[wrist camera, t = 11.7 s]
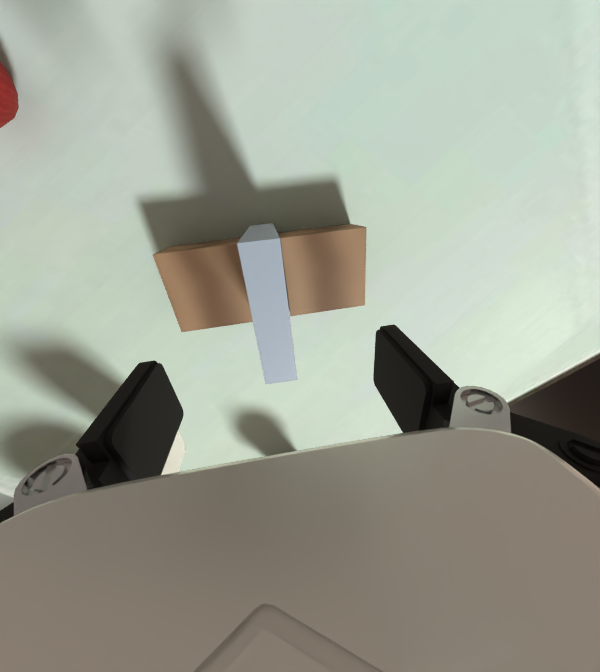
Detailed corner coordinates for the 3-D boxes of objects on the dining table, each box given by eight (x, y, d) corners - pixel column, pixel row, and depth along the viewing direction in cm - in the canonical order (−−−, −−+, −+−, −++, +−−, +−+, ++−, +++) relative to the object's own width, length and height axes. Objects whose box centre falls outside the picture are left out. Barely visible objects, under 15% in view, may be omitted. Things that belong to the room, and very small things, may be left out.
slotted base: (350, 223, 28) (366, 227, 24) (350, 291, 32) (364, 305, 28) (170, 246, 27) (152, 254, 23) (193, 314, 31) (181, 332, 26)
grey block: (272, 222, 26) (279, 238, 14) (284, 310, 31) (297, 379, 19) (250, 225, 26) (237, 243, 14) (265, 313, 31) (265, 384, 19)
